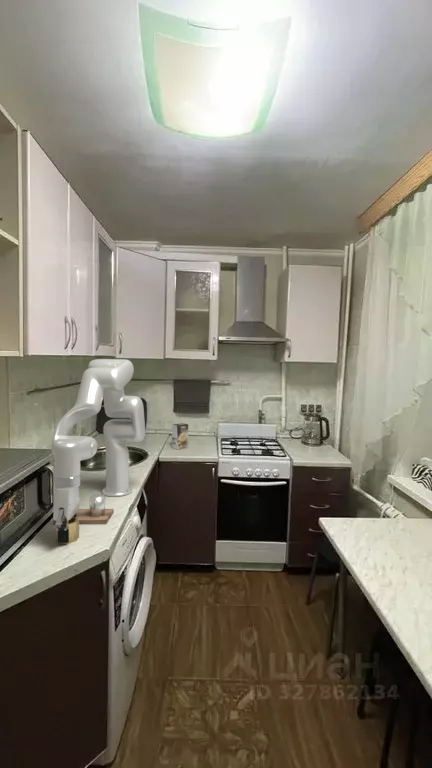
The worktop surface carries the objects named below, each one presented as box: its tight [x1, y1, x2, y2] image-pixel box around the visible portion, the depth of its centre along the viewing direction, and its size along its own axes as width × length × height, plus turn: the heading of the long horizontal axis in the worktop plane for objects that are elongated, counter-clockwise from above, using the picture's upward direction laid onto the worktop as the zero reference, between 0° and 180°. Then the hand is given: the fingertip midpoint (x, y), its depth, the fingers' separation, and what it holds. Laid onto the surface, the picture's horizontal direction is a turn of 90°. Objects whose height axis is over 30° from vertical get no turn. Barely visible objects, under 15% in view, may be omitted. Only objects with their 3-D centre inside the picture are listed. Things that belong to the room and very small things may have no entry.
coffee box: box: [171, 423, 189, 450], centre depth 248 cm, size 9×6×16 cm
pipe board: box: [53, 508, 114, 525], centre depth 132 cm, size 10×18×2 cm, turn 92°
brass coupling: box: [56, 517, 80, 545], centre depth 116 cm, size 6×6×6 cm
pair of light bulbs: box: [89, 493, 106, 517], centre depth 132 cm, size 5×13×7 cm, turn 91°
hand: (68, 536), depth 116 cm, fingers open, 6 cm apart
